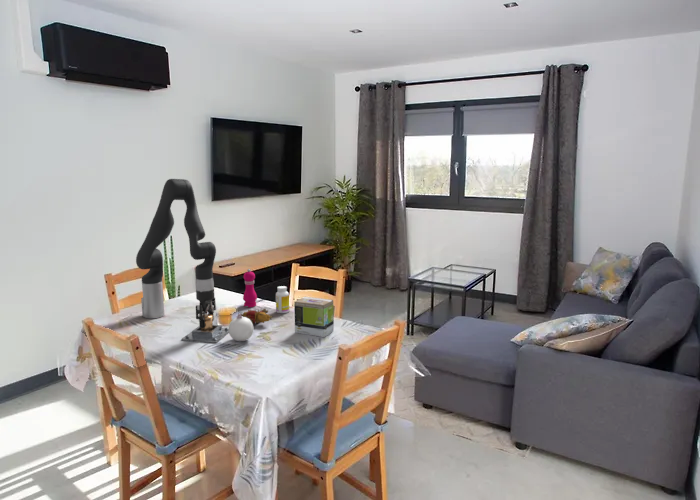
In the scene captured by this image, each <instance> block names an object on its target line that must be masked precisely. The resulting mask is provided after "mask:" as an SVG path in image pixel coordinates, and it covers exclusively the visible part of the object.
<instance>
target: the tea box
mask: <svg viewBox="0 0 700 500" xmlns="http://www.w3.org/2000/svg"><path fill="white" fill-rule="evenodd" d="M293 305H294V306H293V307H294V333H295V334H296V333H297V334H303V335H310V336H316V337H322V338H325V337H326V336H328V335H329V334H331V333H333V332H334V328H335V327H334V326H335V325H334V322H335V321H334V313H335V312H334V311H335V310H334V308H335V307H334V299H331V298H330V299H329V298H320V297H311V296H303V297H301V298H298V299H296V300H295V301H294V303H293Z"/></svg>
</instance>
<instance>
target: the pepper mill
mask: <svg viewBox="0 0 700 500" xmlns="http://www.w3.org/2000/svg"><path fill="white" fill-rule="evenodd" d="M246 270H247V271H246V272H244V274H243V279H244V284H245V290H244V293H243V295H242V299H243V301H244V303H243V305H244V306H243V307H245V306H248V307H247V308H254V306H255V307H256V306H257V299H258V295H257V292H256V291H255V288H254V287H255V285H254V284H255V279H256V274H255V273H254V271H252V270H251V269H250V268H248V269H246Z"/></svg>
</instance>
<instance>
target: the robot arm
mask: <svg viewBox="0 0 700 500" xmlns="http://www.w3.org/2000/svg"><path fill="white" fill-rule="evenodd" d="M193 188H194V187H193V185H192V183H191V182H190V180H188V179H184V178H169V179H167V180H166V181H165V183H164V185H163V188H162V192H161V196H160V200H159V202H158V206H157V209H156V212H155V214H154V216H153V218H152V221H151V224H150V226H149V228H148V229H149V230H148V232H147V234H146V237H145V238H144V240H143V242H142V244H141V246H140V248H139V249H138V251H137V254H136V257H135V263H136V266H137V267H138V269H140V270H148V271H147V272H146V273H145V274H144V275H142V277H141V287H142V288H141V289H142V297H141V300H140V301H141V312H142V313H141V314H142V315H141V316H142V318H145V319H158V318H159V319H160V318H162V317H164V316H165V303H164V302H165V301H164V289H163V288H164V287H163V276H164V259H163V258H164V257H163V254H162V252H161V250H160V249H158V247H159V246H160V245H161V244H162V243H163V242H164V241H165V240H167V239H168V237H169V236H170V234H171V233H172V230H173V228H174V225H175V218H174V215H173V213H172V210H171V207H172V204H173V202H174V201H183V202H184V203H185V205H186V210H185V213H184V214H185V215H184V219H183V225H184V228H185V232H186V234H187V236H188V242H189V254H190V257H191V258H192V259H193V260H195V261H199V260H203V261H202V262H201V263H199V264H197V265H196V266H195V296H196V298H195V299H196V300H197V301H199V304H198V305H197V304H196V305H195V319H196V320H198V321H199V326H200V328H204V327H205V315H206V314H211V315H213V319H212V320H213V322H215V321H214V319H215V317H214V314H215V311H216V310H217V306H216V305H217V304H216V297H215V282H214V274H213V273H214V271H213V268H214V262H215V259H216V254H217V249H216V246H215V243H213V242H212V241H205V242H204V241H203V242H199V241H201V240H203V239H205V237H206V232H205V229H204V226H203V224H202V222H201V218H200V216H199V212H198V207H197V200H196V197H195V192H194V189H193Z"/></svg>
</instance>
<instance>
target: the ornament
mask: <svg viewBox="0 0 700 500" xmlns="http://www.w3.org/2000/svg"><path fill="white" fill-rule="evenodd" d="M241 314H242V313H241ZM241 314H240V313H238V314H237V317H235V318H233V319H231V321H230V322H229V325H228V329H229V333H228V334H229V336H230V338H231V339H232V340H234V341H236V342H244V341H247V340H249V339H250V338H251V337H252V335H253V333H254V324H252V322H251V320H250V319H248V318H246V317H243V316H241ZM239 316H240V317H239Z"/></svg>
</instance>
